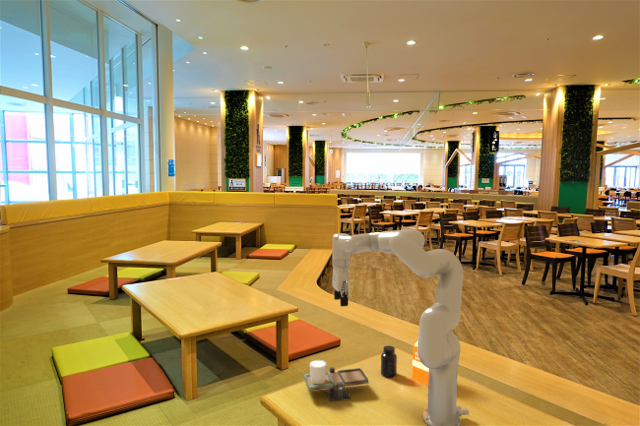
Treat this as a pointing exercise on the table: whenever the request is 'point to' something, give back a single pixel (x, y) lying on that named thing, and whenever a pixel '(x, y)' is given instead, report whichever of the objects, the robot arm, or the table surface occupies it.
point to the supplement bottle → (388, 362)
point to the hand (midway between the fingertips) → (340, 302)
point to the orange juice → (419, 368)
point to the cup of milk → (318, 371)
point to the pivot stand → (337, 390)
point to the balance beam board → (338, 379)
